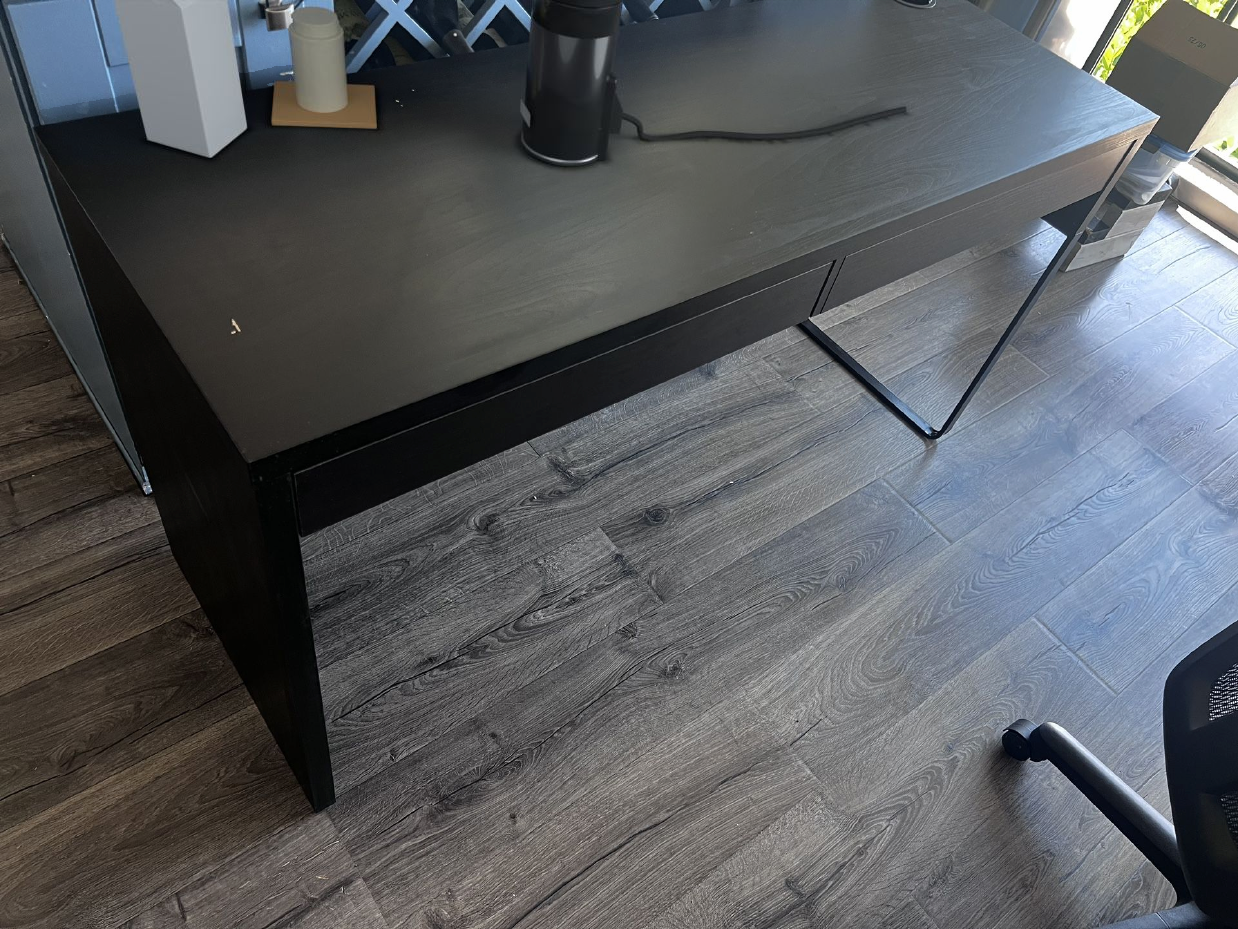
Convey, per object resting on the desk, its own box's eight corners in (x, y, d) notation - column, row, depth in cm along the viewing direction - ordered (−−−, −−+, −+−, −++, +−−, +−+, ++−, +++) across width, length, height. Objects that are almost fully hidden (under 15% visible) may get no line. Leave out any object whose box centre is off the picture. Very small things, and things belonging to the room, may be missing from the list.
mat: (374, 90, 110) (374, 85, 110) (376, 129, 104) (376, 123, 104) (275, 85, 107) (274, 80, 107) (271, 125, 102) (271, 120, 101)
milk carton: (248, 129, 100) (218, -63, 87) (210, 160, 96) (173, -39, 82) (187, 112, 101) (148, -82, 87) (147, 141, 96) (98, -58, 82)
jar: (348, 90, 108) (342, 6, 101) (348, 114, 104) (342, 28, 98) (296, 87, 107) (287, 2, 100) (295, 112, 103) (285, 25, 96)
